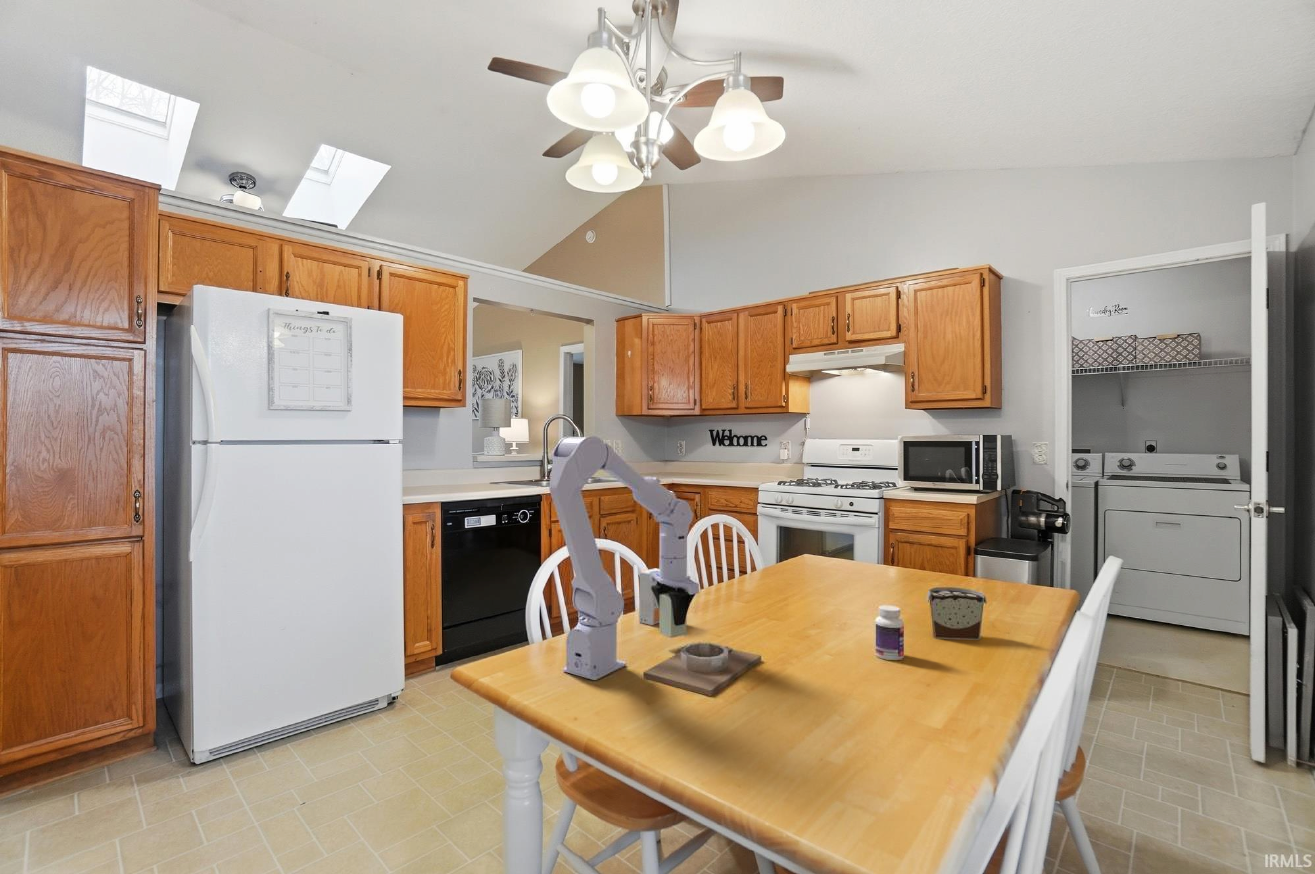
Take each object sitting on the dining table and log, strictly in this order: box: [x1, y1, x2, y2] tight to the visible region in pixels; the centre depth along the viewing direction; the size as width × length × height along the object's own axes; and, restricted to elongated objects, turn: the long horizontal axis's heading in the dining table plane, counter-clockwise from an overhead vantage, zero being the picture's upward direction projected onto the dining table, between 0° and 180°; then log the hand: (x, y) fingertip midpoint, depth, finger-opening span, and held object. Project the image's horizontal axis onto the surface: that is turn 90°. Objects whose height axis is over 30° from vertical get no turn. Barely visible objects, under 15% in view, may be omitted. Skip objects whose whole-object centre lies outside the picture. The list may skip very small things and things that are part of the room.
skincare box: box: [638, 567, 660, 626], centre depth 145 cm, size 6×4×12 cm
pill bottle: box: [874, 604, 905, 661], centre depth 122 cm, size 5×5×10 cm
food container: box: [926, 586, 987, 641], centre depth 135 cm, size 12×6×10 cm, turn 84°
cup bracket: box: [642, 641, 762, 697], centre depth 115 cm, size 20×14×4 cm
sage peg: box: [658, 593, 688, 639], centre depth 126 cm, size 4×4×8 cm
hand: (672, 621), depth 126 cm, fingers closed on sage peg, 4 cm apart
